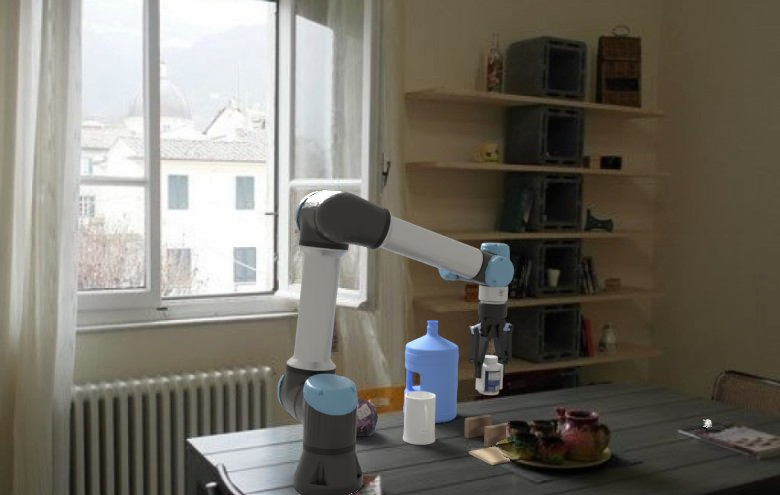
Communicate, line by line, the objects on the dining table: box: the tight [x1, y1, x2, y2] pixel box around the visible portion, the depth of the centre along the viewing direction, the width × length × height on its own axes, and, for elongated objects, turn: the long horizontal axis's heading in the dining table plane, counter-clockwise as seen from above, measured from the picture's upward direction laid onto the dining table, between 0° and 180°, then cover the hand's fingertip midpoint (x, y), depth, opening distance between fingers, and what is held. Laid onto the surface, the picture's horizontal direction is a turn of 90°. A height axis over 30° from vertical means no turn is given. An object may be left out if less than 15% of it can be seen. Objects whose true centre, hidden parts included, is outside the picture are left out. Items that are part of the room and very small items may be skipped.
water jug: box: [402, 319, 460, 424], centre depth 222 cm, size 16×16×28 cm
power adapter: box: [702, 419, 713, 428], centre depth 218 cm, size 3×3×3 cm
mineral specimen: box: [356, 398, 379, 437], centre depth 204 cm, size 10×10×10 cm
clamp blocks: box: [463, 414, 509, 448], centre depth 203 cm, size 9×10×5 cm
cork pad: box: [468, 446, 511, 466], centre depth 190 cm, size 9×9×1 cm
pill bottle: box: [478, 354, 500, 396], centre depth 201 cm, size 5×5×10 cm
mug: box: [402, 391, 436, 446], centre depth 199 cm, size 12×8×12 cm
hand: (488, 388), depth 202 cm, fingers closed on pill bottle, 5 cm apart
